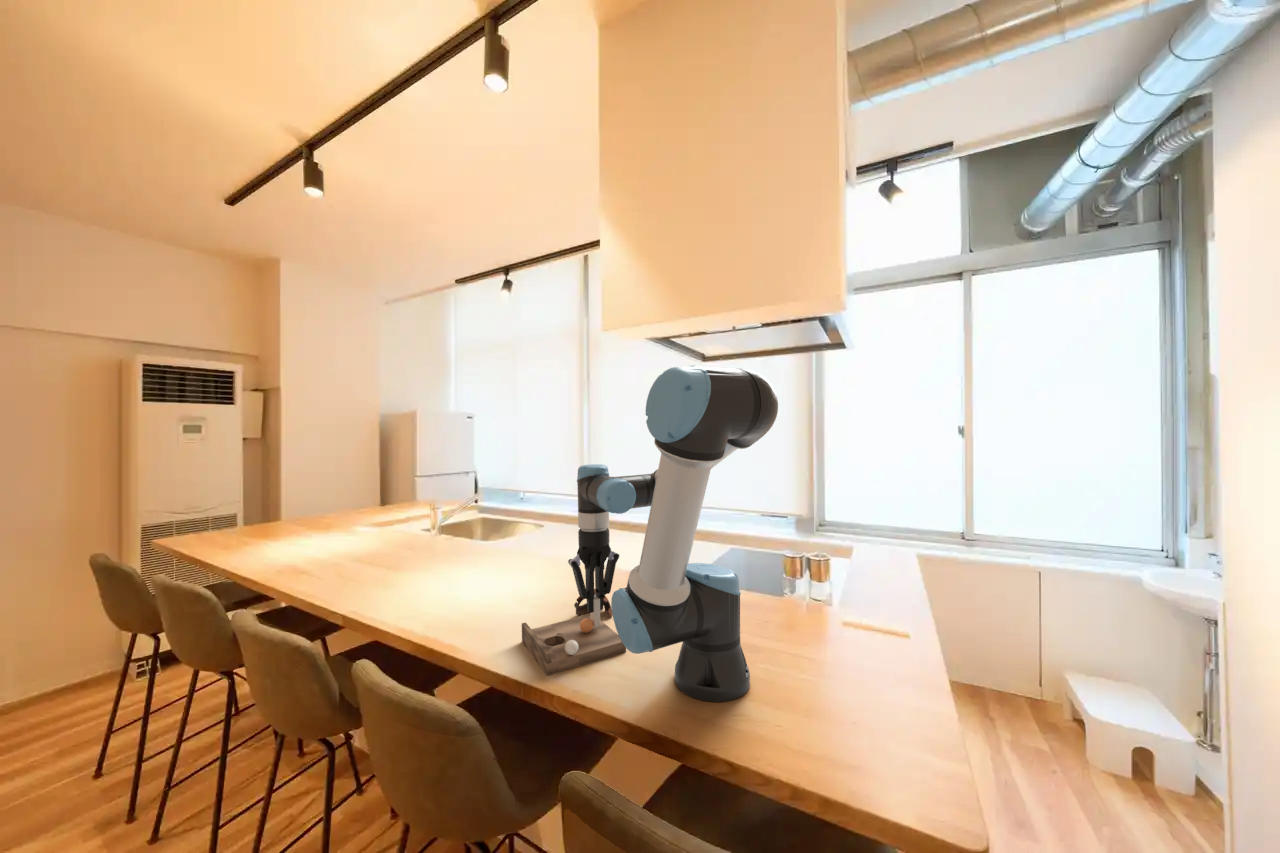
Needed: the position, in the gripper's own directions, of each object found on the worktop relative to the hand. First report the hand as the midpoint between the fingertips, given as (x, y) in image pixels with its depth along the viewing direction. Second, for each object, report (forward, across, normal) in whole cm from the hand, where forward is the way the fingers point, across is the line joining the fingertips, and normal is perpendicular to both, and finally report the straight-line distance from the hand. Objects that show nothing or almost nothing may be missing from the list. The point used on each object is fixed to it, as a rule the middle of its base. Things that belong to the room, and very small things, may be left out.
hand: (595, 624), depth 114 cm
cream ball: (0, +10, +8) cm, 13 cm away
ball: (0, +2, 0) cm, 2 cm away
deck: (+4, +6, 0) cm, 7 cm away
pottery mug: (+4, -6, -14) cm, 15 cm away
